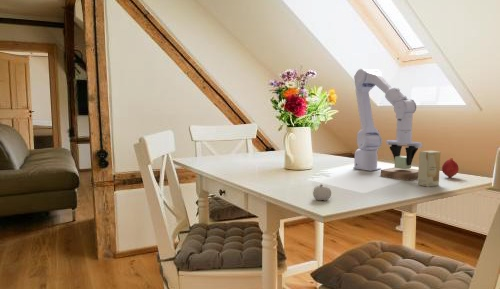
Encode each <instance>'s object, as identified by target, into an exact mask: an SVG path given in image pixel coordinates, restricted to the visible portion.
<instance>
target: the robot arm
mask: <svg viewBox="0 0 500 289" xmlns="http://www.w3.org/2000/svg"><path fill="white" fill-rule="evenodd" d="M353 79H354V80H353V81H354V85H355V95H356V102H357V108H358V114H359V116H358V117H359V122H360V129H359V131H358V132H357V133H356V137H357V138H356V145H357V147H358V148H357V149H356V150H355V152H354V160H353V161H354V165H353V169H356V170H362V171H367V172H368V171H370V172H372V171H377V170H378V171H379V170H382V168H381V167H378V150H380V147H381V146H382V143H383V140H382V136H381V135H380V131H379V130H378V129H377V128H376V127H375V125H374V119H373V112H372V106H371V99H370V91H371V90H373V88H375V87H377V88H378V89H379V90H380V91H381V92H383V93H384V97H385V99H386V100H387V101H388V102H389V103H390V104H391V105H392V107H393V111H394V114H395V118H396V133H395V134H396V137H395V140H394V139H387V140H385V144H386V146H389V150H390V151H391V154H392V157H393V161H395V157H396V156H401V152H402V147H405V148H404V149H405V152H406V153H405V154H406V155H405V156H407V165H411V166H412V162H413V159H414V156H415V155H416V153H417V151H418V150H419V149H422V148H423V142H418V141H413V140H412V139H413V136H412V135H413V116H414V115H413V114H415V112H416V110H417V103H416V102H415V100H414V99H409V98H407V96H406V95H404V94H403V93H402V91H401V89H400V88H399V87H397V88H396V87H392V86H391V84H389V82H388V81H387V80H386V79H385V77H384V76H383V73H382V72H381V71H380V70H379V69H367V68H366V69H365V68H359V69H358V70H357V71H356V72H355V75H354V76H353Z"/></svg>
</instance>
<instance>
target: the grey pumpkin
mask: <svg viewBox="0 0 500 289" xmlns="http://www.w3.org/2000/svg"><path fill="white" fill-rule="evenodd" d="M312 192H313V193H312V195H313V198H314V200H316V201H319V200H325V201H327V200H329V199H330V198H331V196H332V189H331V188H330V187H329V186H328V185H323V183H320V184H319V185H316V186H315V187H314V188H313V191H312Z"/></svg>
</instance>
